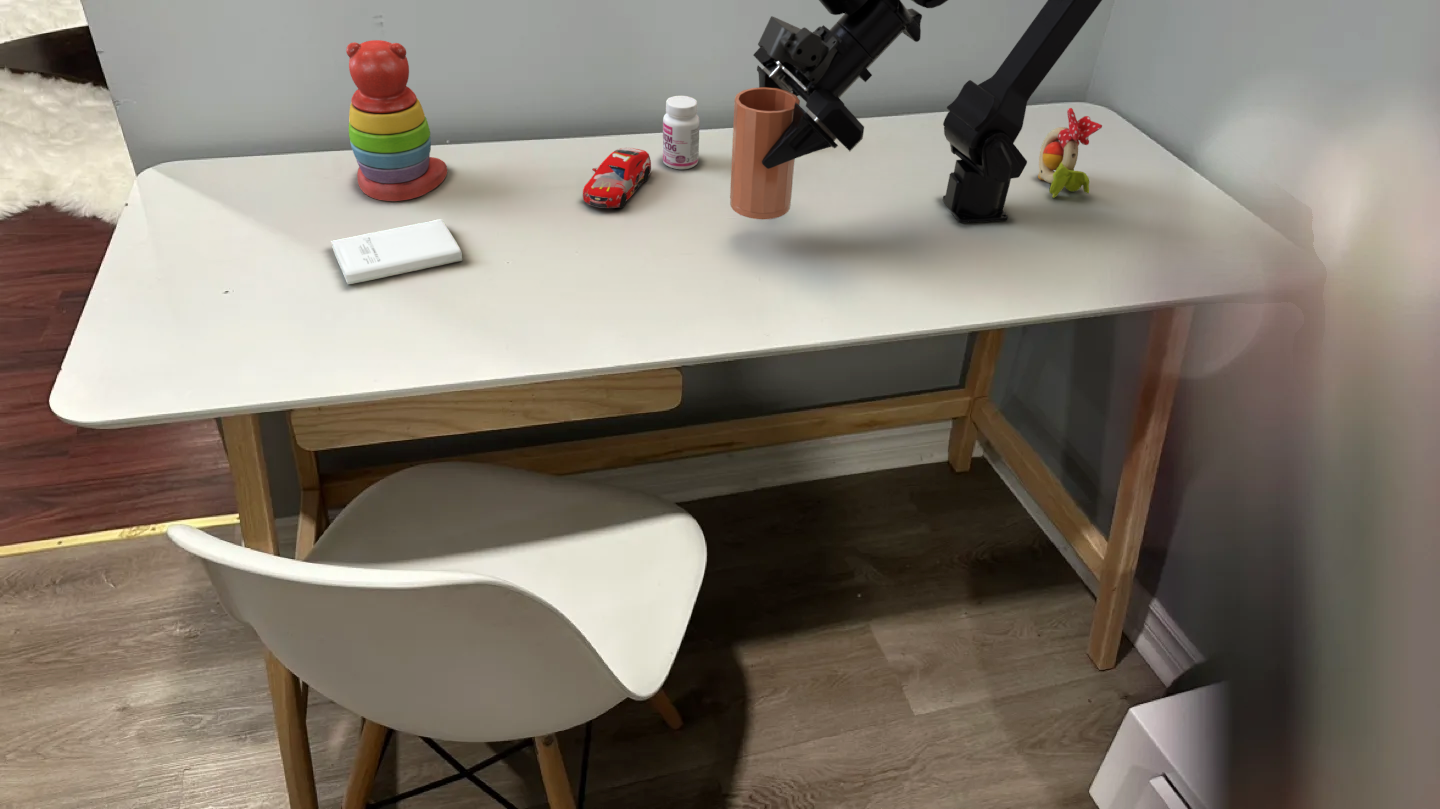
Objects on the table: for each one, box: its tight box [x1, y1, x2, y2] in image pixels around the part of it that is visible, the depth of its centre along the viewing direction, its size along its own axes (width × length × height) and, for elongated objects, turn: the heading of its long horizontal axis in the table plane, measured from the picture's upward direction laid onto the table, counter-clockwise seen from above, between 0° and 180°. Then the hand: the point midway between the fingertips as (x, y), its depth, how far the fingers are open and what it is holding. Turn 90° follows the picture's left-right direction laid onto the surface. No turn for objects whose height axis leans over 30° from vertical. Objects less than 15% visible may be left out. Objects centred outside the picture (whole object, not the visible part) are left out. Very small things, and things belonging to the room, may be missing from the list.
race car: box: [582, 147, 652, 209], centre depth 125 cm, size 13×5×4 cm, turn 161°
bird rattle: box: [1037, 107, 1103, 199], centre depth 129 cm, size 6×11×9 cm
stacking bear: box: [345, 39, 448, 202], centre depth 119 cm, size 11×10×18 cm
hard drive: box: [330, 218, 463, 285], centre depth 111 cm, size 2×8×12 cm
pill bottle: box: [662, 95, 701, 170], centre depth 130 cm, size 5×5×8 cm
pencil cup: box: [729, 87, 801, 220], centre depth 111 cm, size 7×7×12 cm
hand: (752, 151), depth 110 cm, fingers closed on pencil cup, 7 cm apart
